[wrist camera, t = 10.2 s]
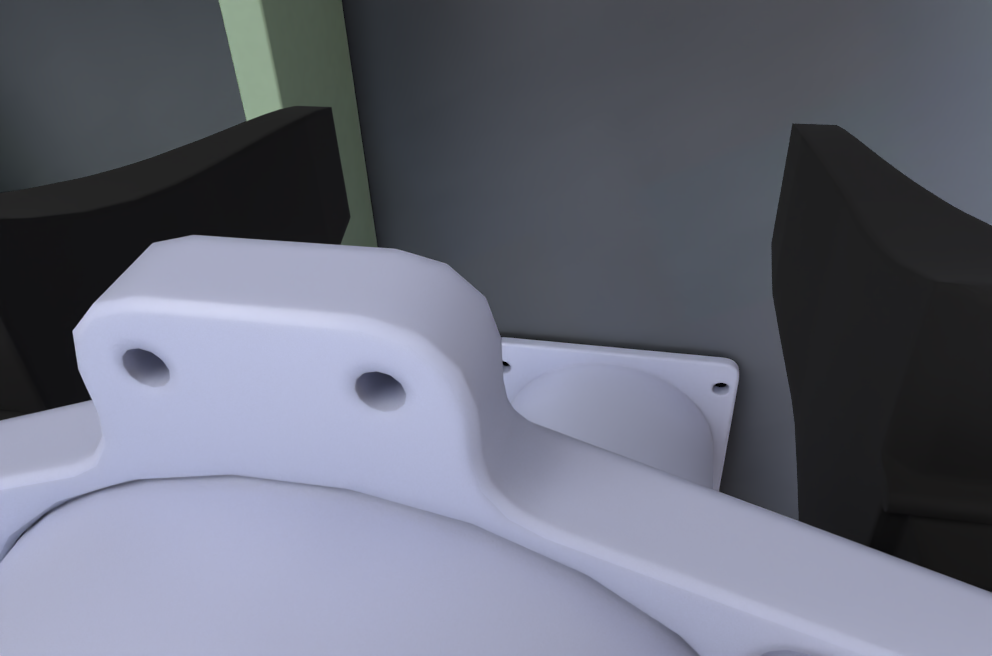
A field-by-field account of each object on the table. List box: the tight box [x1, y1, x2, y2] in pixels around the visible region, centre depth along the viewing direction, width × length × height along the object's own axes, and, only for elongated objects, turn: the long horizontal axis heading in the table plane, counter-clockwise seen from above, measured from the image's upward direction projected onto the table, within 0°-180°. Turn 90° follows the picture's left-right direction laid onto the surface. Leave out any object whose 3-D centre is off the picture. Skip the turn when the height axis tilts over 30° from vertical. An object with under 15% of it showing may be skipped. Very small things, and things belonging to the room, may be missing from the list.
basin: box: [219, 0, 377, 247], centre depth 21 cm, size 15×15×6 cm
